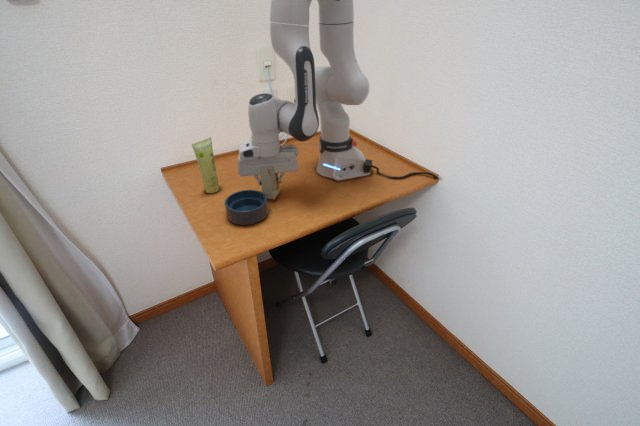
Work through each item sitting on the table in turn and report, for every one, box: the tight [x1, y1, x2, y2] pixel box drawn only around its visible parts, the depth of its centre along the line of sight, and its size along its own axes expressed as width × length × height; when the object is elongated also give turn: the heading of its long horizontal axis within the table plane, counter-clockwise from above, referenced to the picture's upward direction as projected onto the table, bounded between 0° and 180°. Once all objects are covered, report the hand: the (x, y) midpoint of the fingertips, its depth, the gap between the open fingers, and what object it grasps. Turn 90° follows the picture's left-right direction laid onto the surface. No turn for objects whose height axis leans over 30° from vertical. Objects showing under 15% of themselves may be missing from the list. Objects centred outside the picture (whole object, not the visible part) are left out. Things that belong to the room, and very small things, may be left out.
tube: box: [191, 137, 220, 194], centre depth 111 cm, size 6×5×20 cm
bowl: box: [224, 189, 269, 226], centre depth 102 cm, size 13×13×6 cm
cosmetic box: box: [259, 167, 280, 200], centre depth 110 cm, size 6×4×12 cm
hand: (270, 183), depth 111 cm, fingers closed on cosmetic box, 5 cm apart
